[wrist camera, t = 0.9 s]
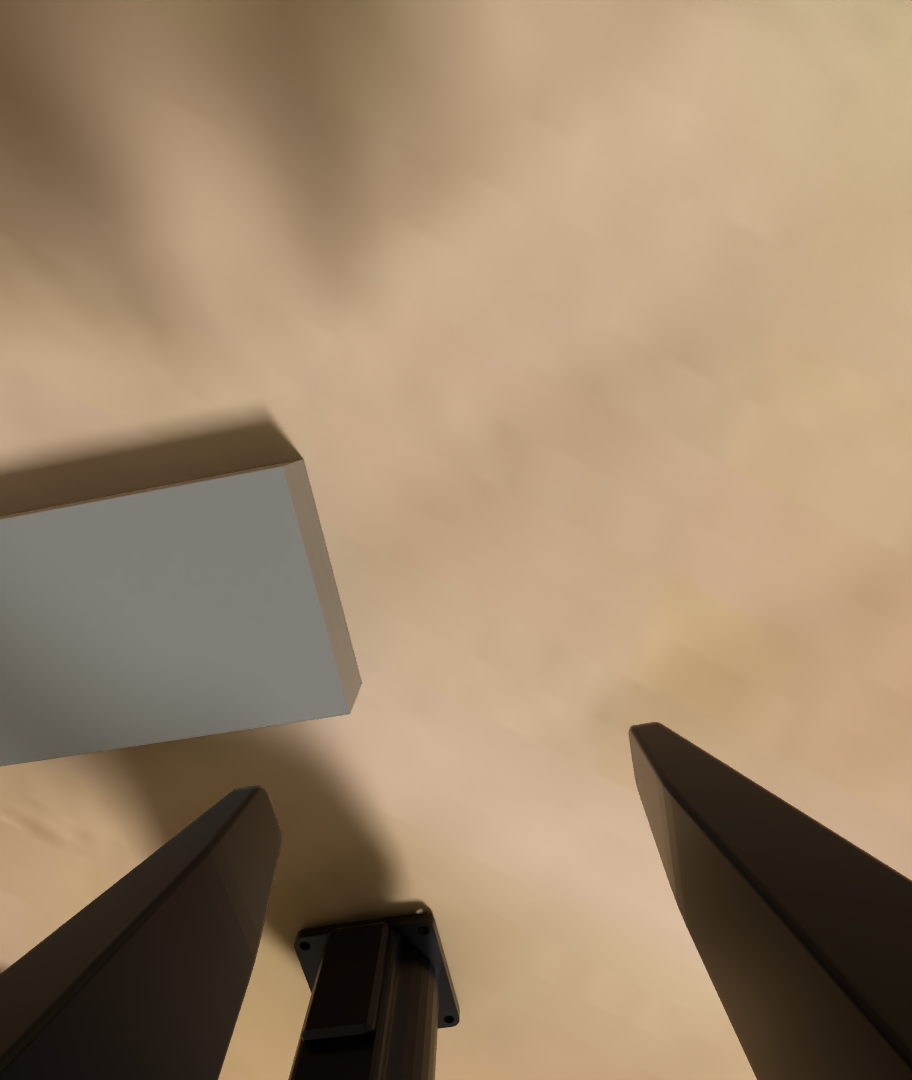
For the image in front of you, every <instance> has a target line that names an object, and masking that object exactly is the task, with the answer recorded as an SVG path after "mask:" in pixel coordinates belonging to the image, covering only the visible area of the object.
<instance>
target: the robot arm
mask: <svg viewBox="0 0 912 1080" xmlns="http://www.w3.org/2000/svg"><path fill="white" fill-rule="evenodd" d="M629 740H630V747H631V754H632V761H633V768H634V775H635V780H636V785H637V788H638V792H639V795H640V798H641V801H642V804H643V807H644V810H645V813H646V816H647V818H648V821H649V824H650V827H651V830H652V833H653V836H654V839H655V842H656V845H657V848H658V851H659V854H660V857H661V860H662V863H663V866H664V869H665V871H666V874H667V877H668V880H669V883H670V886H671V889H672V891H673V894H674V897H675V900H676V902H677V905H678V907H679V910H680V912H681V914H682V917H683V919H684V921H685V924H686V926H687V928H688V931H689V933H690V935H691V937H692V939H693V941H694V944H695V946H696V948H697V950H698V952H699V954H700V957H701V959H702V961H703V963H704V965H705V967H706V970H707V972H708V974H709V976H710V978H711V980H712V983H713V985H714V987H715V989H716V991H717V993H718V996H719V998H720V1000H721V1002H722V1004H723V1007H724V1009H725V1011H726V1013H727V1015H728V1017H729V1020H730V1022H731V1024H732V1026H733V1028H734V1030H735V1033H736V1035H737V1037H738V1039H739V1041H740V1043H741V1046H742V1048H743V1050H744V1052H745V1054H746V1056H747V1059H748V1061H749V1063H750V1065H751V1067H752V1069H753V1072H754V1074H755V1076H756V1078H757V1080H912V880H910V879H908V878H907V877H905V876H904V875H902V874H900V873H899V872H897V871H896V870H894V869H892V868H891V867H889V866H888V865H886V864H884V863H883V862H881V861H880V860H878V859H876V858H875V857H873V856H872V855H870V854H868V853H867V852H865V851H864V850H862V849H860V848H859V847H857V846H856V845H854V844H853V843H851V842H849V841H848V840H846V839H845V838H843V837H841V836H840V835H838V834H837V833H835V832H833V831H832V830H830V829H829V828H827V827H825V826H824V825H822V824H821V823H819V822H817V821H816V820H814V819H813V818H811V817H809V816H808V815H806V814H805V813H803V812H801V811H800V810H798V809H797V808H795V807H793V806H792V805H790V804H789V803H787V802H785V801H784V800H782V799H781V798H779V797H777V796H776V795H774V794H773V793H771V792H770V791H768V790H766V789H765V788H763V787H762V786H760V785H758V784H757V783H755V782H754V781H752V780H750V779H749V778H747V777H746V776H744V775H742V774H741V773H739V772H738V771H736V770H734V769H733V768H731V767H730V766H728V765H726V764H725V763H723V762H722V761H720V760H718V759H717V758H715V757H714V756H712V755H710V754H709V753H707V752H706V751H704V750H702V749H701V748H699V747H698V746H696V745H695V744H693V743H691V742H690V741H688V740H687V739H685V738H683V737H682V736H680V735H679V734H677V733H675V732H674V731H672V730H671V729H669V728H667V727H666V726H664V725H663V724H661V723H658V722H651V723H645V724H639V725H633V726H631V727H630V729H629ZM281 841H282V835H281V829H280V825H279V823H278V820H277V817H276V814H275V811H274V809H273V806H272V803H271V800H270V797H269V795H268V792H267V790H266V789H265V788H264V787H263V786H260V785H256V786H250V787H244V788H238V789H235V790H233V791H232V792H231V793H229V794H228V795H227V796H225V797H224V798H223V799H222V800H220V801H219V802H218V803H217V804H215V805H214V806H213V807H211V808H210V809H209V810H208V811H206V812H205V813H204V814H203V815H201V816H200V817H199V818H198V819H196V820H195V821H194V822H192V823H191V824H190V825H189V826H187V827H186V828H185V829H184V830H182V831H181V832H180V833H179V834H177V835H176V836H175V837H173V838H172V839H171V840H170V841H168V842H167V843H166V844H165V845H163V846H162V847H161V848H160V849H158V850H157V851H156V852H154V853H153V854H152V855H151V856H149V857H148V858H147V859H146V860H144V861H143V862H142V863H141V864H139V865H138V866H137V867H135V868H134V869H133V870H132V871H130V872H129V873H128V874H127V875H125V876H124V877H123V878H122V879H120V880H119V881H118V882H116V883H115V884H114V885H113V886H111V887H110V888H109V889H108V890H106V891H105V892H104V893H103V894H101V895H100V896H99V897H97V898H96V899H95V900H94V901H92V902H91V903H90V904H89V905H87V906H86V907H85V908H84V909H82V910H81V911H80V912H78V913H77V914H76V915H75V916H73V917H72V918H71V919H70V920H68V921H67V922H66V923H64V924H63V925H62V926H61V927H59V928H58V929H57V930H56V931H54V932H53V933H52V934H51V935H49V936H48V937H47V938H45V939H44V940H43V941H42V942H40V943H39V944H38V945H37V946H35V947H34V948H33V949H32V950H30V951H29V952H28V953H26V954H25V955H24V956H23V957H21V958H20V959H19V960H18V961H16V962H15V963H14V964H13V965H11V966H10V967H9V968H7V969H6V970H5V971H4V972H2V973H1V974H0V1080H218V1078H219V1075H220V1072H221V1068H222V1065H223V1062H224V1059H225V1056H226V1053H227V1050H228V1046H229V1043H230V1040H231V1037H232V1034H233V1031H234V1027H235V1024H236V1021H237V1018H238V1015H239V1012H240V1009H241V1005H242V1002H243V999H244V996H245V993H246V990H247V986H248V983H249V980H250V977H251V973H252V970H253V966H254V963H255V959H256V955H257V951H258V947H259V943H260V939H261V935H262V930H263V926H264V921H265V917H266V912H267V908H268V903H269V899H270V894H271V890H272V885H273V881H274V876H275V872H276V867H277V863H278V858H279V854H280V849H281ZM294 948H295V950H296V953H297V956H298V958H299V961H300V964H301V966H302V969H303V972H304V974H305V977H306V980H307V982H308V985H309V988H310V990H311V993H312V994H311V998H310V1002H309V1005H308V1009H307V1013H306V1016H305V1020H304V1024H303V1028H302V1031H301V1035H300V1039H299V1042H298V1046H297V1050H296V1053H295V1057H294V1061H293V1065H292V1068H291V1072H290V1076H289V1079H288V1080H435V1065H436V1047H437V1029H438V1028H446V1027H453V1026H455V1025H457V1024H458V1023H459V1014H460V1008H459V1005H458V1001H457V998H456V994H455V991H454V987H453V983H452V980H451V976H450V973H449V969H448V965H447V962H446V958H445V955H444V951H443V948H442V944H441V940H440V937H439V933H438V930H437V926H436V923H435V920H434V918H433V917H432V916H431V915H429V914H423V913H421V914H414V915H406V916H399V917H391V918H384V919H376V920H369V921H361V922H354V923H346V924H338V925H331V926H323V927H316V928H308V929H303V930H300V931H299V932H298V934H297V937H296V940H295V943H294Z"/></svg>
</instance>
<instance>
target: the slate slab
mask: <svg viewBox="0 0 912 1080" xmlns="http://www.w3.org/2000/svg"><path fill="white" fill-rule="evenodd" d="M361 684H362V681H361V677H360V674H359V670H358V666H357V662H356V658H355V654H354V651H353V647H352V643H351V639H350V635H349V631H348V628H347V624H346V620H345V616H344V612H343V608H342V605H341V601H340V597H339V593H338V589H337V585H336V581H335V578H334V574H333V570H332V566H331V562H330V558H329V555H328V551H327V547H326V543H325V539H324V535H323V532H322V528H321V524H320V520H319V516H318V512H317V509H316V505H315V501H314V497H313V493H312V489H311V486H310V482H309V478H308V474H307V470H306V466H305V463H304V459H301V460H296V461H290V462H285V463H280V464H275V465H269V466H264V467H259V468H253V469H248V470H243V471H238V472H232V473H227V474H222V475H216V476H211V477H206V478H200V479H195V480H190V481H185V482H179V483H174V484H169V485H163V486H158V487H153V488H148V489H142V490H137V491H132V492H126V493H121V494H116V495H111V496H105V497H100V498H95V499H89V500H84V501H79V502H74V503H68V504H63V505H58V506H52V507H47V508H42V509H36V510H31V511H26V512H21V513H15V514H10V515H5V516H0V766H6V765H13V764H20V763H26V762H33V761H40V760H46V759H53V758H60V757H67V756H73V755H80V754H87V753H93V752H100V751H107V750H113V749H120V748H127V747H133V746H140V745H147V744H153V743H160V742H167V741H174V740H180V739H187V738H194V737H200V736H207V735H214V734H220V733H227V732H234V731H240V730H247V729H254V728H261V727H267V726H274V725H281V724H287V723H294V722H301V721H307V720H314V719H321V718H327V717H334V716H341V715H347V714H350V713H351V710H352V707H353V705H354V702H355V700H356V697H357V695H358V692H359V689H360V687H361Z"/></svg>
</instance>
